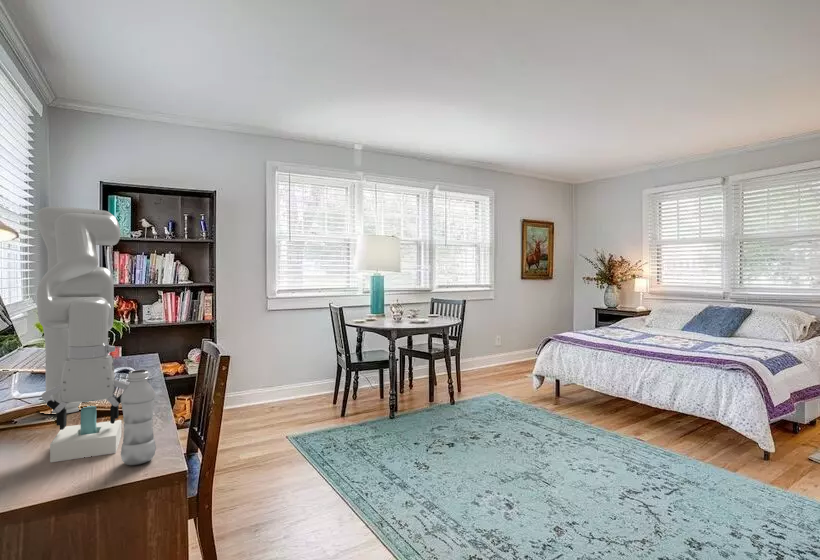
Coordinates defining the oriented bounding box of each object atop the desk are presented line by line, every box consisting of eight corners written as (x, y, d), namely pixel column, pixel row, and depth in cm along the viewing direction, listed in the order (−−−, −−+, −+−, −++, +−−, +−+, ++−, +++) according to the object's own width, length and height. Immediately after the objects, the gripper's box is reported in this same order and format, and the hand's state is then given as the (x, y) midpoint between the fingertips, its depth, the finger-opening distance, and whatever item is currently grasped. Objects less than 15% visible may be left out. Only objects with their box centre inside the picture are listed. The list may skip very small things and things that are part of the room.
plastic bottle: (162, 458, 101) (163, 369, 100) (135, 471, 94) (135, 376, 94) (141, 454, 103) (141, 367, 102) (113, 466, 96) (113, 373, 96)
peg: (81, 446, 106) (81, 406, 106) (97, 444, 108) (97, 405, 108) (79, 451, 104) (79, 410, 104) (95, 449, 105) (95, 408, 105)
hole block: (62, 443, 108) (62, 426, 108) (121, 435, 114) (121, 419, 114) (50, 462, 98) (50, 444, 98) (115, 453, 103) (115, 435, 103)
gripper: (133, 347, 113) (133, 415, 113) (46, 352, 105) (46, 425, 105) (130, 352, 106) (130, 424, 106) (37, 357, 98) (37, 435, 98)
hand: (88, 424), depth 106 cm, fingers open, 9 cm apart
